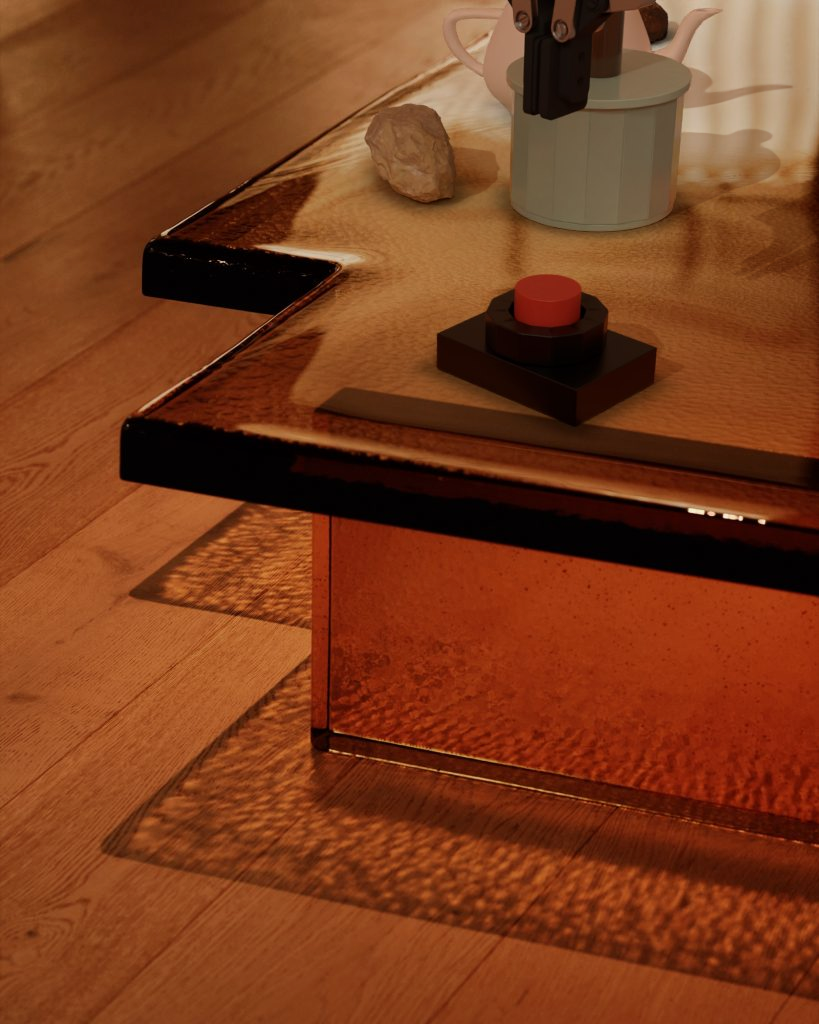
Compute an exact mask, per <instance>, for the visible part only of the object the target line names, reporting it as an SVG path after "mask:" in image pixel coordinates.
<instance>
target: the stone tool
mask: <svg viewBox="0 0 819 1024" xmlns="http://www.w3.org/2000/svg"><path fill="white" fill-rule="evenodd" d="M363 139H364V141H365V144H366V145H367V146H368V147H369V150H370V151H369V152H370V154H371V155H370V158H371V160H372V161H373V163H374V165H375V168H376V171H377V173H378V175H379V176H380V177H381V179H382V180H383V181H385V182H388V183H389V184H390V186H391V188H392V190H393V191H394V192H395V193H397V194H398V195H402V196H405V197H408V198H409V199H412V200H413V201H418V202H420V203H426V204H427V203H431V202H433V201H437V200H441V199H452V198H453V197H454V196H455V195H454V193H455V192H454V191H455V190H454V189H455V187H454V182H455V181H454V179H455V178H456V177H457V168H456V163H455V159H456V157H455V152H454V147H453V146H452V144H451V142H450V140H451V137H450V135H449V134H448V132H447V130H446V128H445V126H444V124H443V122H442V117H441V116H440V115H439V114H438V111H436V110H435V109H434V108H432V107H429V106H428V105H425V104H415V103H411V102H410V103H404V104H402V105H399V106H391V107H388V106H386V107H383V108H381V109H379V110H378V114H375V115H374V116H373V117H372V119H371V121H370V123H369V125H368V127H367V129H366V132H365V135H364V137H363Z"/></svg>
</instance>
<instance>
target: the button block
mask: <svg viewBox="0 0 819 1024" xmlns="http://www.w3.org/2000/svg"><path fill="white" fill-rule="evenodd" d="M514 298H515V288H513V289H510V290H508V291H506V292H503V293H502V294H499V295H497V296H494V297H493V298H491V300H490V302H489V304H488V307H487V308H486V310H485V311H483V312H481V313H479V314H476V315H474V316H472V317H470V318H467V319H465V320H463V321H462V322H458V323H456V324H455V325H452V326H450V327H447V328H446V329H443V330H441V331H439V332H437V333H436V369H437V370H440V371H442V372H443V373H447V374H449V375H452V376H454V377H456V378H458V379H461V380H463V381H466V382H467V383H471V384H473V385H475V386H478V387H480V388H482V389H484V390H487V391H490V392H492V393H494V394H496V395H499V396H501V397H502V398H503V397H504V398H506V399H508V400H510V401H513V402H515V403H518V404H520V405H522V406H525V407H527V408H529V409H531V410H534V411H537V412H539V413H541V414H543V415H546V416H549V417H550V418H553V419H556V420H558V421H560V422H563V423H565V424H567V425H570V426H572V427H577V426H578V425H580V424H582V423H585V422H586V421H588V420H589V419H591V418H593V417H595V416H596V415H598V414H600V413H602V412H603V411H606V410H608V409H609V408H611V407H613V406H614V405H616V404H619V403H620V402H622V401H624V400H626V399H627V398H629V397H631V396H633V395H634V394H637V393H639V392H640V391H642V390H644V389H646V388H647V387H649V386H651V385H653V384H654V383H655V378H656V368H657V367H656V365H657V354H658V353H657V352H658V348H657V346H654V345H651V344H649V343H647V342H643V341H640V340H638V339H635V338H633V337H630V336H628V335H624V334H622V333H619V332H617V331H614V330H611V329H608V327H609V311H610V310H609V308H607V306H606V305H605V304H604V303H602V301H601V300H600V299H599V298H598V297H597V296H595V295H592V294H589V293H587V292H584V291H581V309H580V319H579V321H577V322H575V323H573V324H571V325H564V326H557V327H543V326H532V325H528V324H526V323H523V322H520V321H518V320H515V318H514Z"/></svg>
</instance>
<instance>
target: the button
mask: <svg viewBox="0 0 819 1024" xmlns="http://www.w3.org/2000/svg"><path fill="white" fill-rule="evenodd" d="M514 289H515V298H514V318H515V320H518V321H520V322H523V323H526V324H528V325H532V326H543V327H557V326H564V325H571V324H573V323H575V322H577V321H579V319H580V309H581V292H583V291H582V285H581V284H580V283H579V281H577V280H575V279H573V278H571V277H568V276H565V275H561V274H553V273H552V274H551V273H542V274H541V273H540V274H539V273H538V274H532V275H528V276H525V277H522V278H520V279H519V280H517V282H516V283H515V285H514Z"/></svg>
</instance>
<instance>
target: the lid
mask: <svg viewBox="0 0 819 1024" xmlns="http://www.w3.org/2000/svg"><path fill="white" fill-rule="evenodd" d="M624 21H625V11H620V12H614V13H613V14H612V15H611V16H610V17H609V18H608V19H607V20H606V21H605V24H604V27H603V28H602V29H601V30H600V31H597V32H594V33H593V36H592V54H591V72H590V88H589V92H588V101H587V105H586V107H585V108H584V109H627V108H638V107H646V106H651V105H656V104H661V103H665V102H668V101H671V100H674V99H676V98H678V97H680V96H682V95H684V96H685V94H686V93H688V92H689V90H690V89H691V87H692V82H693V81H692V80H693V74H692V72H691V70H690V68H688V67H687V66H686V65H685V64H684V63H683V62H682V63H680V62H678V61H676V60H673V59H671V58H668V57H665V56H662V55H658V54H655V53H650V52H645V51H640V50H633V49H625V48H623V37H624ZM523 70H524V57H521V58H519V59H517V60H515V61H514V62H512V63H511V64H510V65H509V66H508V68H507V70H506V82H507V84H508V86H509V87H510V88H511V89H512V90H514V91H515V92H517V93H519V94H520V95H522V96H523Z"/></svg>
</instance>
